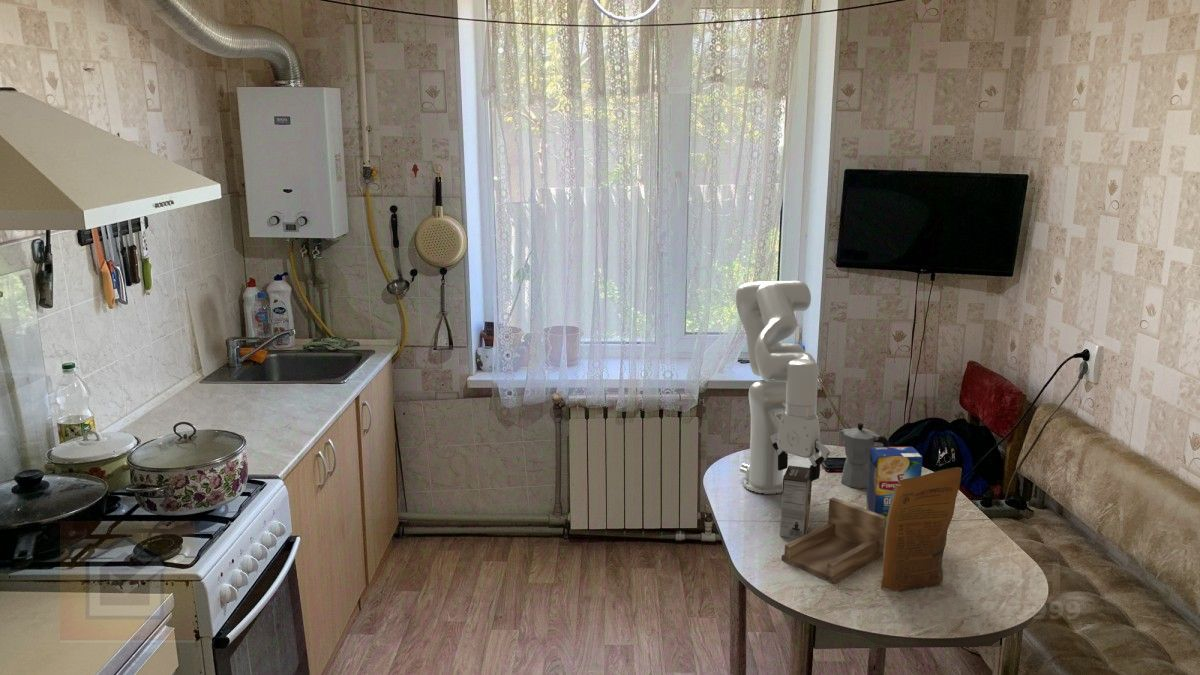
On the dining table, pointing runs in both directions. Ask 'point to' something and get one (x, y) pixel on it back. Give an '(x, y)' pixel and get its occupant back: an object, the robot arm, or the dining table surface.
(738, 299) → the robot arm
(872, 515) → the wooden tray
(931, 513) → the pancake mix bag
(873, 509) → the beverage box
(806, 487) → the coffee box
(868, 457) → the coffeepot
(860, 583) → the dining table surface
